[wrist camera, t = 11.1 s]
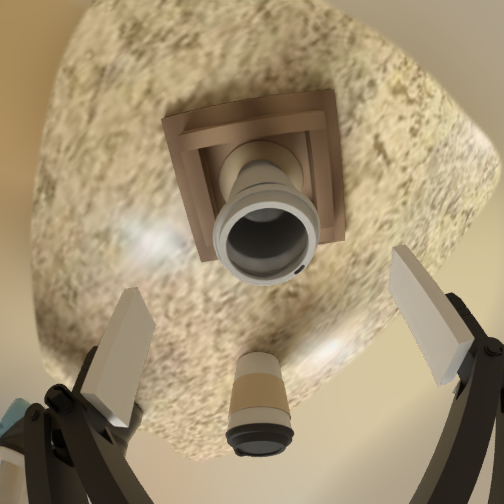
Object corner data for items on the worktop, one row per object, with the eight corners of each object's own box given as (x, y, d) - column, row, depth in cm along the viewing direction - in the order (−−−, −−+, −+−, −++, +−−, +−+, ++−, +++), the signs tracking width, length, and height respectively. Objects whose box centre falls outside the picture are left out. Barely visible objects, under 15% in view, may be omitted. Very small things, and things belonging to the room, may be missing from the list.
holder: (202, 257, 34) (198, 275, 31) (164, 117, 25) (153, 122, 22) (342, 236, 32) (351, 252, 29) (331, 89, 24) (341, 90, 21)
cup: (263, 227, 31) (270, 308, 20) (210, 189, 28) (188, 256, 18) (311, 176, 28) (347, 237, 17) (257, 132, 25) (263, 167, 15)
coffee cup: (277, 341, 41) (284, 435, 29) (293, 373, 46) (302, 455, 33) (219, 355, 43) (212, 445, 30) (242, 384, 47) (241, 464, 35)
